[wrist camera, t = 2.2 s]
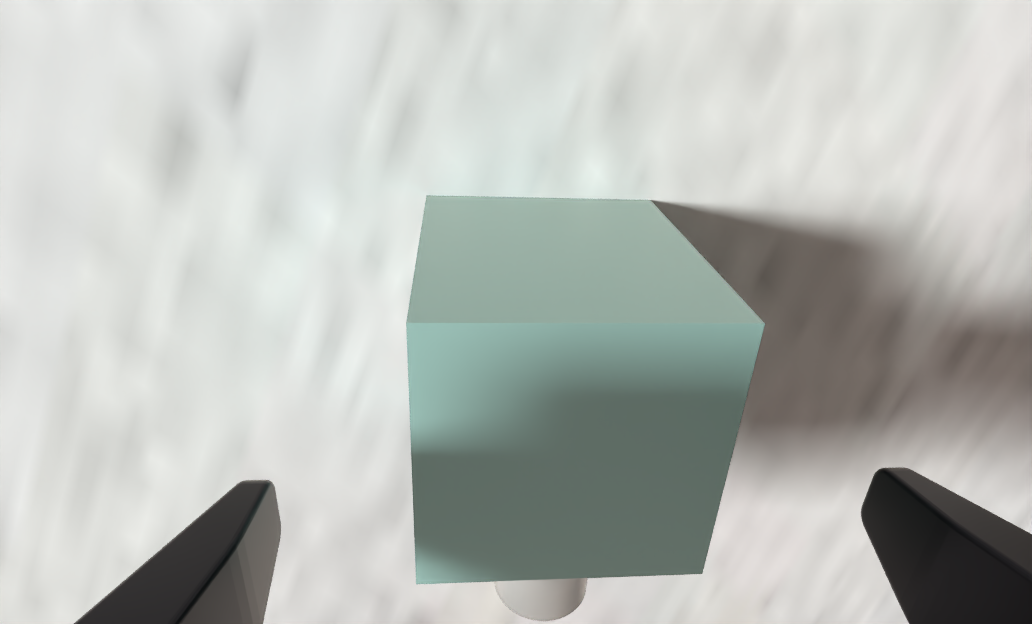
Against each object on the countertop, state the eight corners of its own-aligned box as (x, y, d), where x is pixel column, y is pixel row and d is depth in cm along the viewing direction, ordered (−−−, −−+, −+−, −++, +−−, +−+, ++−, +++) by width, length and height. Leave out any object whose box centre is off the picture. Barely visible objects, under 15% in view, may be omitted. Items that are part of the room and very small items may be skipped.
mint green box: (650, 199, 14) (764, 324, 9) (612, 458, 18) (679, 661, 12) (426, 194, 14) (406, 322, 8) (431, 460, 17) (419, 674, 12)
